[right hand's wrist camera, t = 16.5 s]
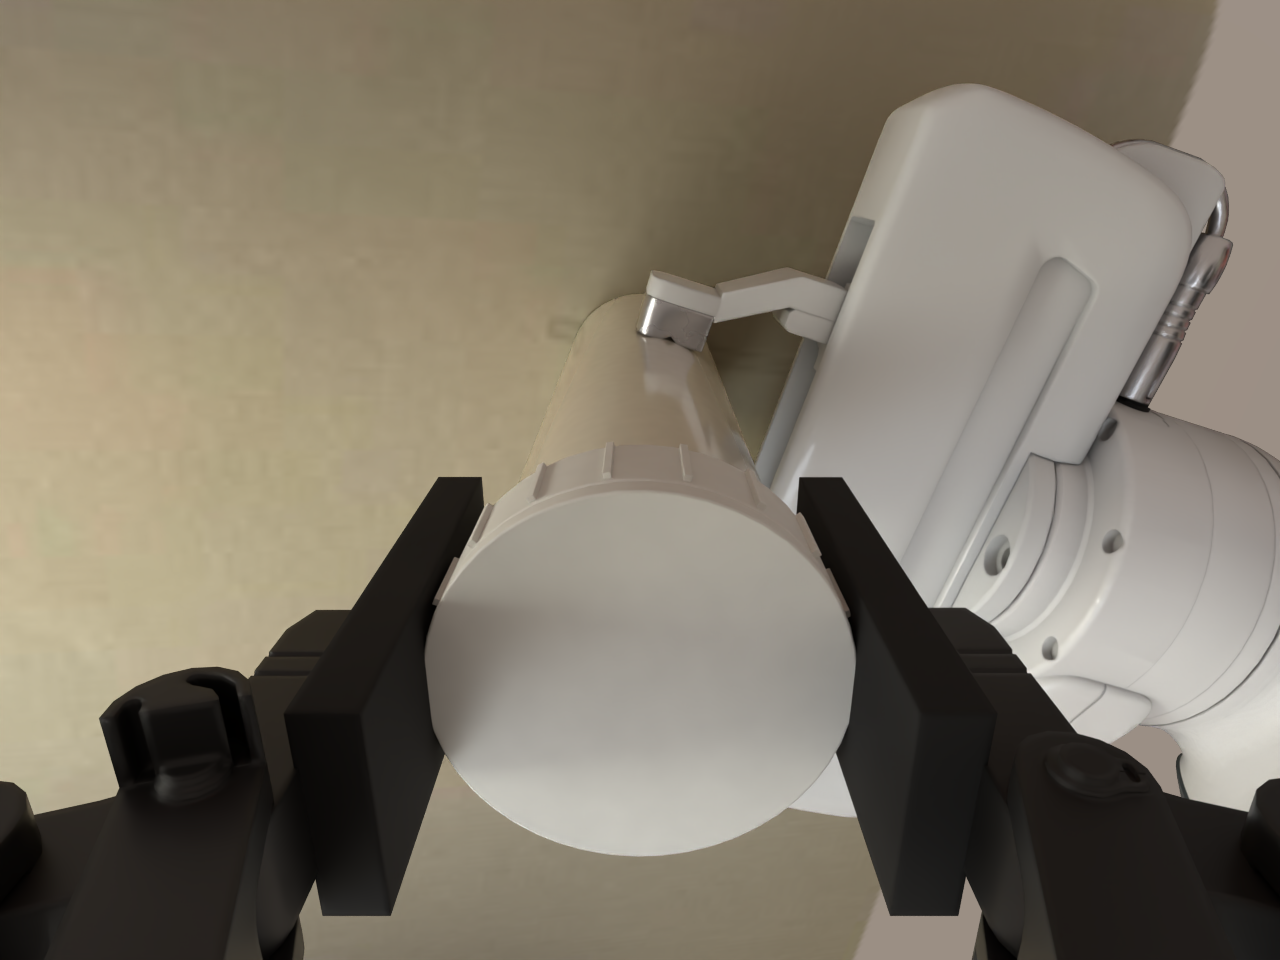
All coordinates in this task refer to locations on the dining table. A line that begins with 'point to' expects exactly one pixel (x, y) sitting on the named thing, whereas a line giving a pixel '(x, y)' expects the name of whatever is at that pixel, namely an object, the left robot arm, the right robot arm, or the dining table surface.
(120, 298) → the dining table surface
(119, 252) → the dining table surface
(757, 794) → the lid
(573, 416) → the jar
